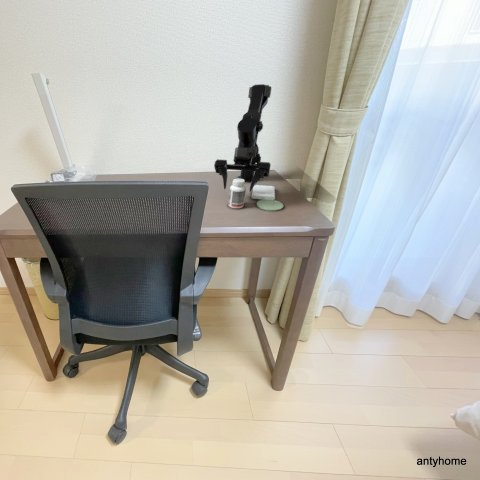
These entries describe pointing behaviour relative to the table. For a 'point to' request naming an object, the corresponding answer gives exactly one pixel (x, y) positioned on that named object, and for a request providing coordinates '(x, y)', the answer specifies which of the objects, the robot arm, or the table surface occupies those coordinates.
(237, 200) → the pill bottle
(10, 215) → the table surface
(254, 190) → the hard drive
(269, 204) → the coaster
